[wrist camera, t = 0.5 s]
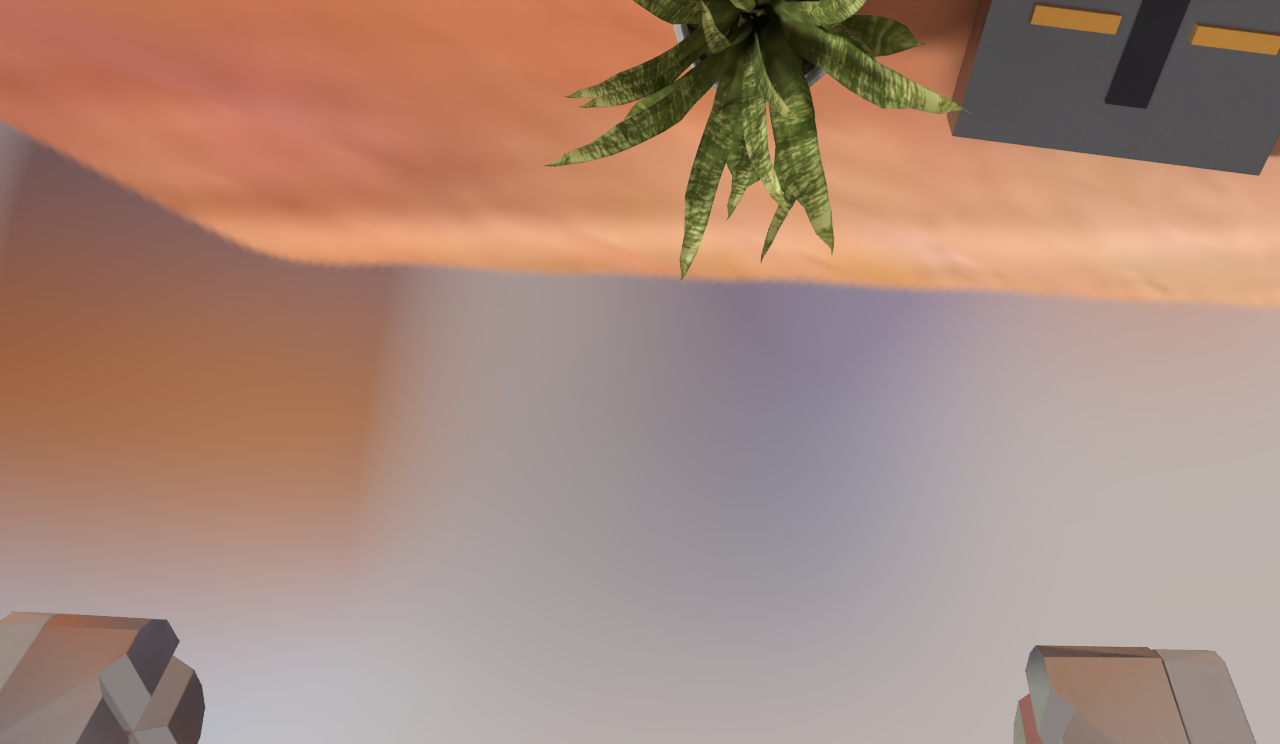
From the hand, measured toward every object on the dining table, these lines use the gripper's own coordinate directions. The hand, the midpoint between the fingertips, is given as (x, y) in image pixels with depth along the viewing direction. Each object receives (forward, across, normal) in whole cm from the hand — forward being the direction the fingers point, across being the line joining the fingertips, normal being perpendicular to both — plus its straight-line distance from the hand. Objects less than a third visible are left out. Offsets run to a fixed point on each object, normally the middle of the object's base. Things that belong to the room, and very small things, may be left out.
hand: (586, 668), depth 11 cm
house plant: (+44, 0, +8) cm, 44 cm away
